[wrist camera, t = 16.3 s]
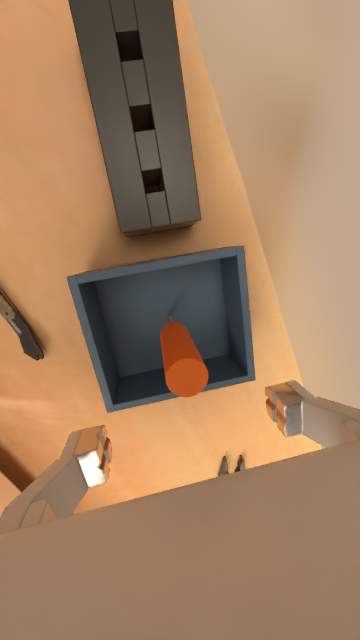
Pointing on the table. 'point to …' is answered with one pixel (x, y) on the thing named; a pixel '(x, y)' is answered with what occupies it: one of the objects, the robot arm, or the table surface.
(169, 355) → the orange screwdriver
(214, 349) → the bin
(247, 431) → the table surface
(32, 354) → the tomahawk
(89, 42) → the caddy
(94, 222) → the table surface
